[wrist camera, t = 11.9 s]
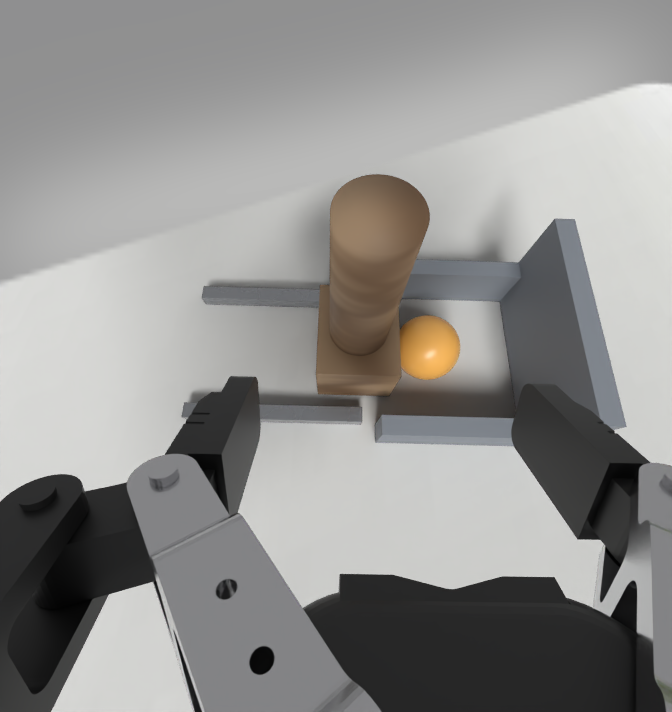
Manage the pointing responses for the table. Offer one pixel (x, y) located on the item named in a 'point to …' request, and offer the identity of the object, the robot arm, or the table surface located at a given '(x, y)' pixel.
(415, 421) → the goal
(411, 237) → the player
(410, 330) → the ball
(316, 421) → the track
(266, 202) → the table surface
